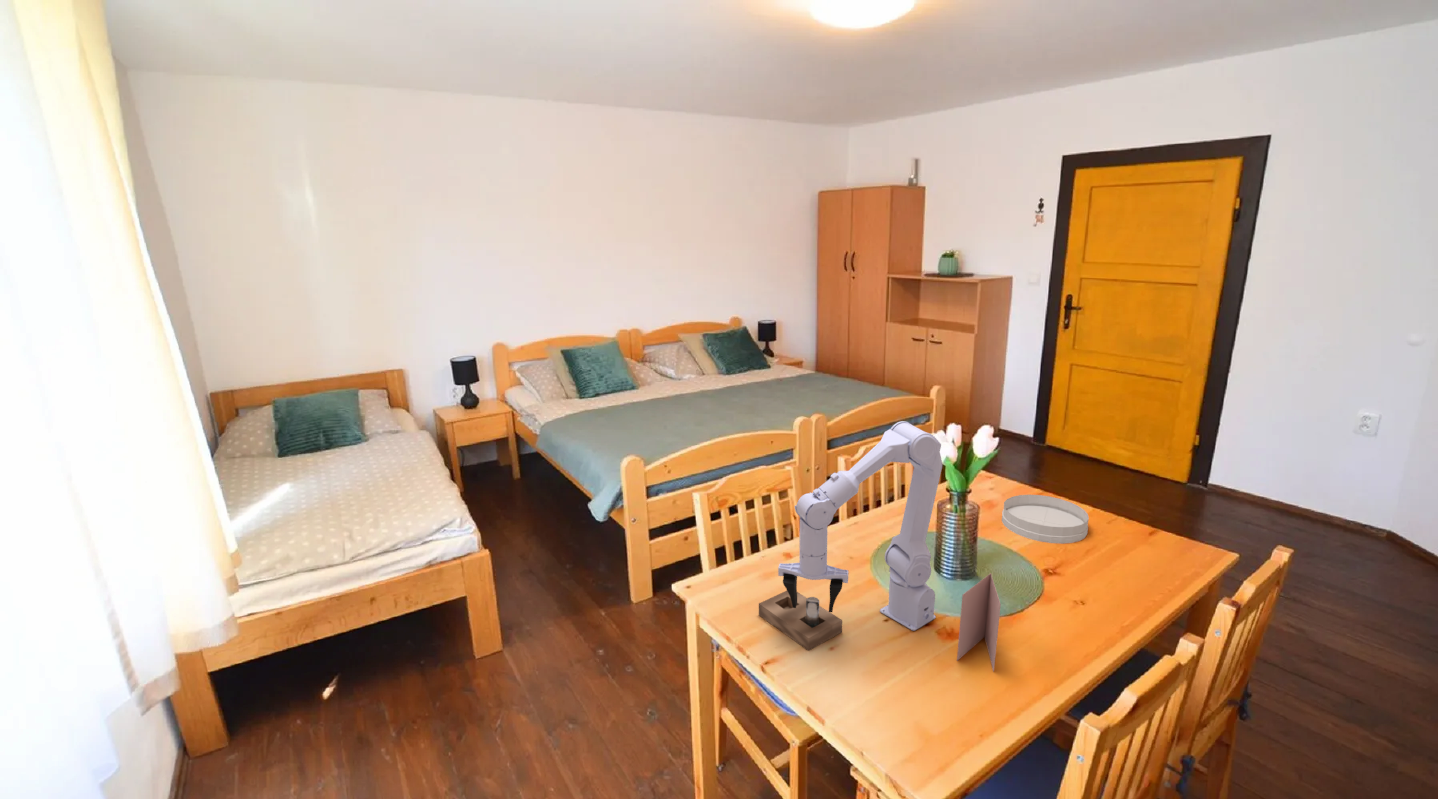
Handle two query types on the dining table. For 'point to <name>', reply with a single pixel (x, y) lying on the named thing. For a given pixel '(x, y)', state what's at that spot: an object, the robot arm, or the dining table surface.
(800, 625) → the hole block
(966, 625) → the greeting card
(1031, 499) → the dish
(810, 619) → the pin
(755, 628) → the dining table surface
